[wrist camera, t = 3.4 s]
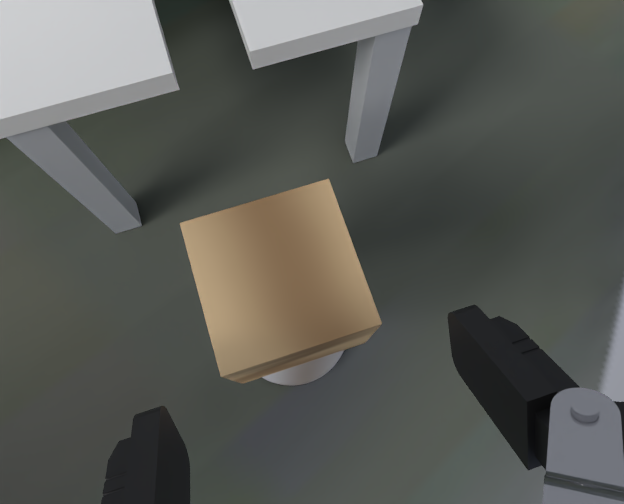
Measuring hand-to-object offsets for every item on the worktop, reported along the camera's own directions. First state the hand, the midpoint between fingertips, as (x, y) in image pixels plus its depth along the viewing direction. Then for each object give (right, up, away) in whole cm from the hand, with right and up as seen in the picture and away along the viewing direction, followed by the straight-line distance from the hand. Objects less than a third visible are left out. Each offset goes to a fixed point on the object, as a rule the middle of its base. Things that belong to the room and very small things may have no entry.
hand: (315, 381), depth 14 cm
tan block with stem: (-1, -1, +13) cm, 13 cm away
